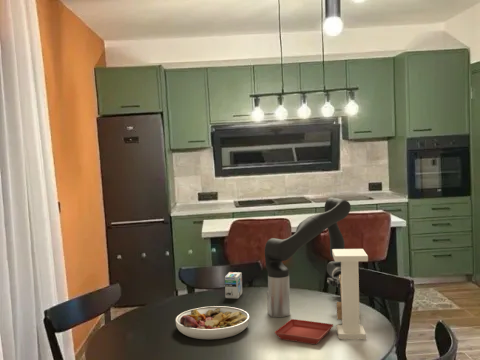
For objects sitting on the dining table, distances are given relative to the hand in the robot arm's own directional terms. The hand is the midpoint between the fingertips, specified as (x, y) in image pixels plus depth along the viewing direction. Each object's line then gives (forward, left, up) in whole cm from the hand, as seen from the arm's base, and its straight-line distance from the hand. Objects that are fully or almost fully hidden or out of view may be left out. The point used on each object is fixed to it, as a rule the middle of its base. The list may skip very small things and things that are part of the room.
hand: (344, 286), depth 224 cm
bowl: (-58, +1, -13) cm, 59 cm away
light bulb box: (-39, +45, -13) cm, 61 cm away
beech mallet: (-1, -2, -5) cm, 5 cm away
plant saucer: (-26, -19, -13) cm, 34 cm away
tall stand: (-9, -24, -12) cm, 28 cm away
